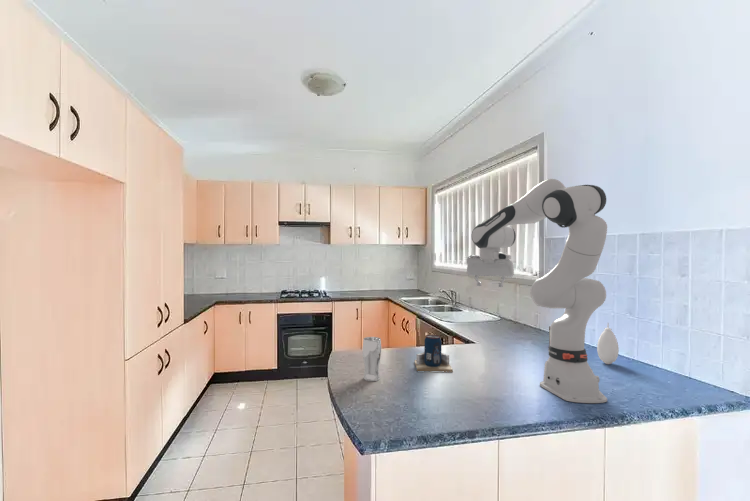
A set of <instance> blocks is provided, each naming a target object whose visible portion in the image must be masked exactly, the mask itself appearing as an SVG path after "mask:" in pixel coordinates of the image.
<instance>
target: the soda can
mask: <svg viewBox="0 0 750 501" xmlns="http://www.w3.org/2000/svg"><path fill="white" fill-rule="evenodd" d="M423 349H424V350H423V352H424V362H425V364H426V366H428V367H439V366H440V364H441V353H442V339H441V336H440V335H437V334H427V335H426V336H425V338H424V348H423Z"/></svg>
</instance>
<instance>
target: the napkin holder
mask: <svg viewBox="0 0 750 501" xmlns="http://www.w3.org/2000/svg"><path fill="white" fill-rule="evenodd" d="M415 358H416V359H414V364H415V368H417V369H416V372H417V371H444V372H443V373H453V370H454V369H453V367H452V366H451V364H450V354H447V353H444V352H441V364H440V366H439V367H428V366H426V364H425V362H424V351H423V352H420V353H417V354H416V357H415ZM446 371H447V372H446ZM449 371H450V372H449Z"/></svg>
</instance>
